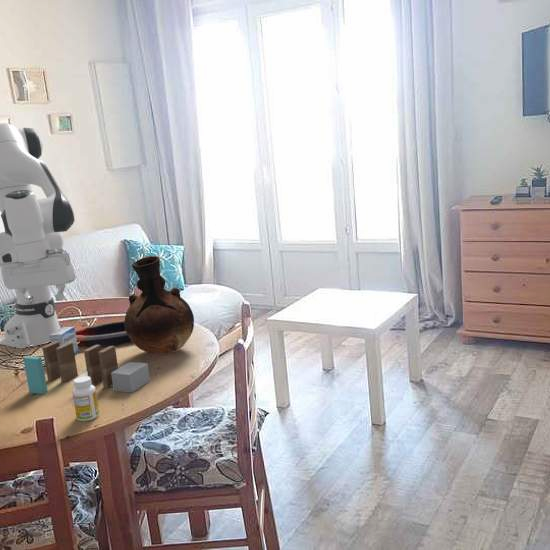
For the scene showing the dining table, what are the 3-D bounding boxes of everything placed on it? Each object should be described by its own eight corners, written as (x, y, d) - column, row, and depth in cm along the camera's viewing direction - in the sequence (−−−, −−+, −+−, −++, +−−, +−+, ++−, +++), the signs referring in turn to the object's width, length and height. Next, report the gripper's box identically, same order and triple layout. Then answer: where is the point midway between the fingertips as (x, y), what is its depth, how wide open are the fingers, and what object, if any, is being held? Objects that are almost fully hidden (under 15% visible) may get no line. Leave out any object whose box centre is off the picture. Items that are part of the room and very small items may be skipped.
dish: (156, 341, 208) (155, 326, 207) (60, 354, 203) (57, 339, 202) (157, 328, 223) (155, 314, 222) (67, 339, 218) (65, 325, 217)
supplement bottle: (91, 410, 158) (85, 373, 155) (104, 414, 154) (98, 377, 152) (72, 418, 154) (65, 381, 151) (85, 423, 150) (78, 385, 148)
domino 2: (48, 380, 180) (42, 347, 178) (60, 373, 185) (55, 341, 183) (52, 380, 180) (46, 347, 178) (64, 374, 184) (59, 341, 182)
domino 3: (61, 381, 178) (55, 348, 176) (73, 375, 183) (68, 342, 181) (65, 382, 178) (60, 348, 175) (78, 375, 182) (72, 342, 180)
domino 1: (43, 394, 170) (37, 359, 168) (29, 392, 173) (23, 357, 170) (47, 391, 172) (41, 357, 170) (33, 390, 174) (27, 355, 172)
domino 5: (103, 386, 172) (98, 352, 170) (115, 379, 176) (110, 345, 174) (108, 387, 171) (103, 352, 169) (120, 380, 176) (114, 346, 174)
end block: (113, 390, 169) (111, 372, 168) (132, 379, 176) (129, 362, 175) (131, 392, 166) (129, 374, 165) (149, 380, 173) (147, 363, 172)
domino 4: (89, 385, 174) (83, 350, 172) (101, 378, 179) (95, 344, 176) (93, 385, 173) (88, 351, 171) (105, 378, 178) (100, 345, 176)
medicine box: (66, 361, 196) (61, 334, 194) (53, 361, 196) (48, 334, 195) (79, 352, 203) (74, 326, 201) (66, 352, 204) (62, 326, 202)
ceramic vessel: (201, 340, 204) (190, 249, 197) (192, 359, 187) (180, 260, 180) (137, 345, 205) (124, 254, 198) (122, 364, 188) (108, 266, 181)
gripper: (73, 245, 168) (85, 295, 171) (8, 253, 173) (20, 301, 176) (60, 250, 162) (72, 302, 165) (-7, 258, 167) (6, 308, 170)
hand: (45, 301), depth 171 cm, fingers open, 8 cm apart
